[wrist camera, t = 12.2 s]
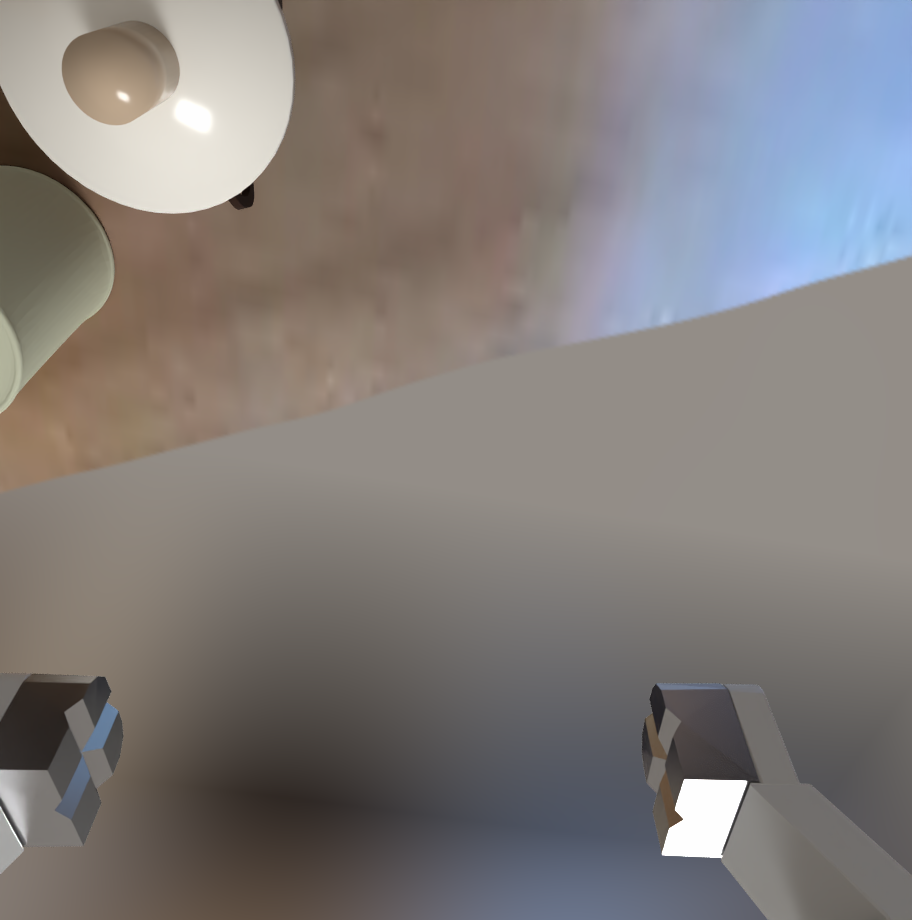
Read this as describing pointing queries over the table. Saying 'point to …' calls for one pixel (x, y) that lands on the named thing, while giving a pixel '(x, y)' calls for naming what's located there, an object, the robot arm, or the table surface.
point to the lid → (151, 93)
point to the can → (45, 272)
